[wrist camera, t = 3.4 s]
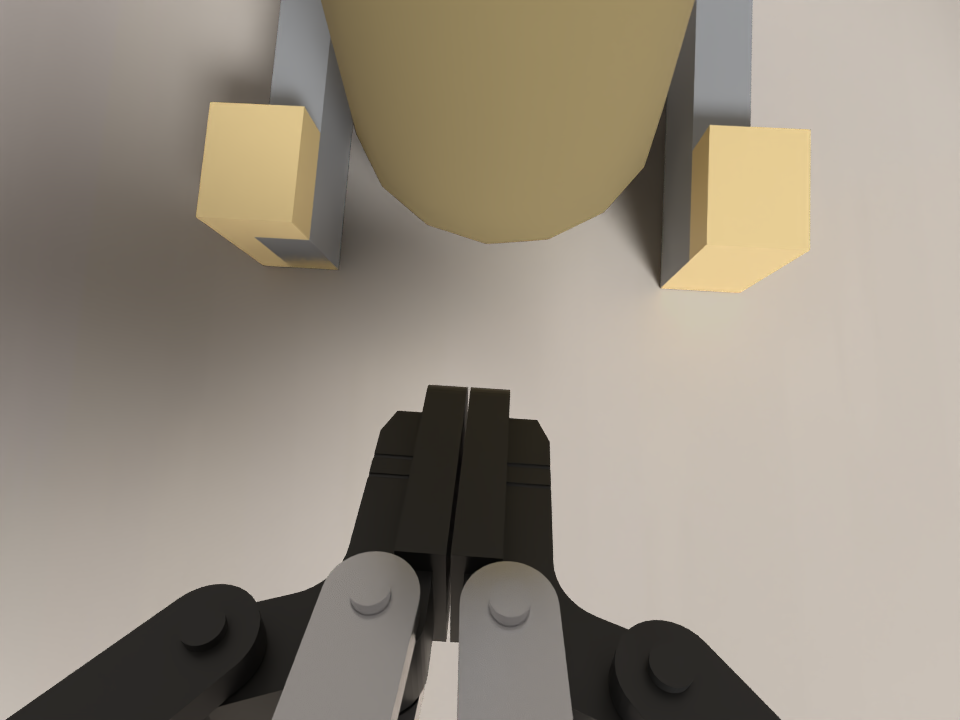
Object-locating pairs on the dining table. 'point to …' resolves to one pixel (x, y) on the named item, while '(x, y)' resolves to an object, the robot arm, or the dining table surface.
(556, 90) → the squeeze bottle
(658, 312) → the dining table surface
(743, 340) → the dining table surface
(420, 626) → the robot arm
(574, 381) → the dining table surface
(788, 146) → the wooden post frame
